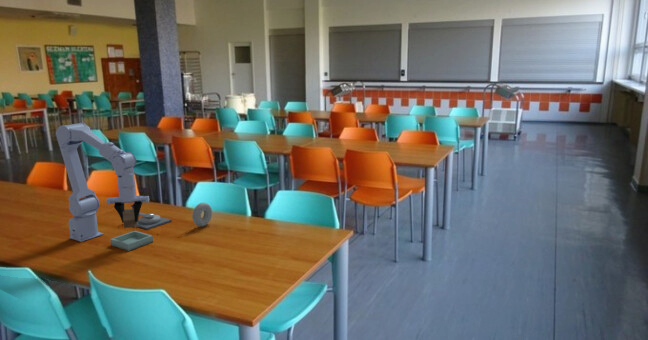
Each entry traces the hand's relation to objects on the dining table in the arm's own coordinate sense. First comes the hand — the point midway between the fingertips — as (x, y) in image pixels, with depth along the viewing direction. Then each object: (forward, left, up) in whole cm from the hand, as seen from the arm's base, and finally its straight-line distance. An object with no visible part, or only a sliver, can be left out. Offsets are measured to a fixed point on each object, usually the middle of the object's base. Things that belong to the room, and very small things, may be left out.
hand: (130, 221), depth 179 cm
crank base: (+19, +14, -9) cm, 25 cm away
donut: (+28, -8, -9) cm, 30 cm away
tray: (0, 0, -9) cm, 9 cm away
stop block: (0, 0, -2) cm, 2 cm away
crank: (+18, +18, -6) cm, 26 cm away
